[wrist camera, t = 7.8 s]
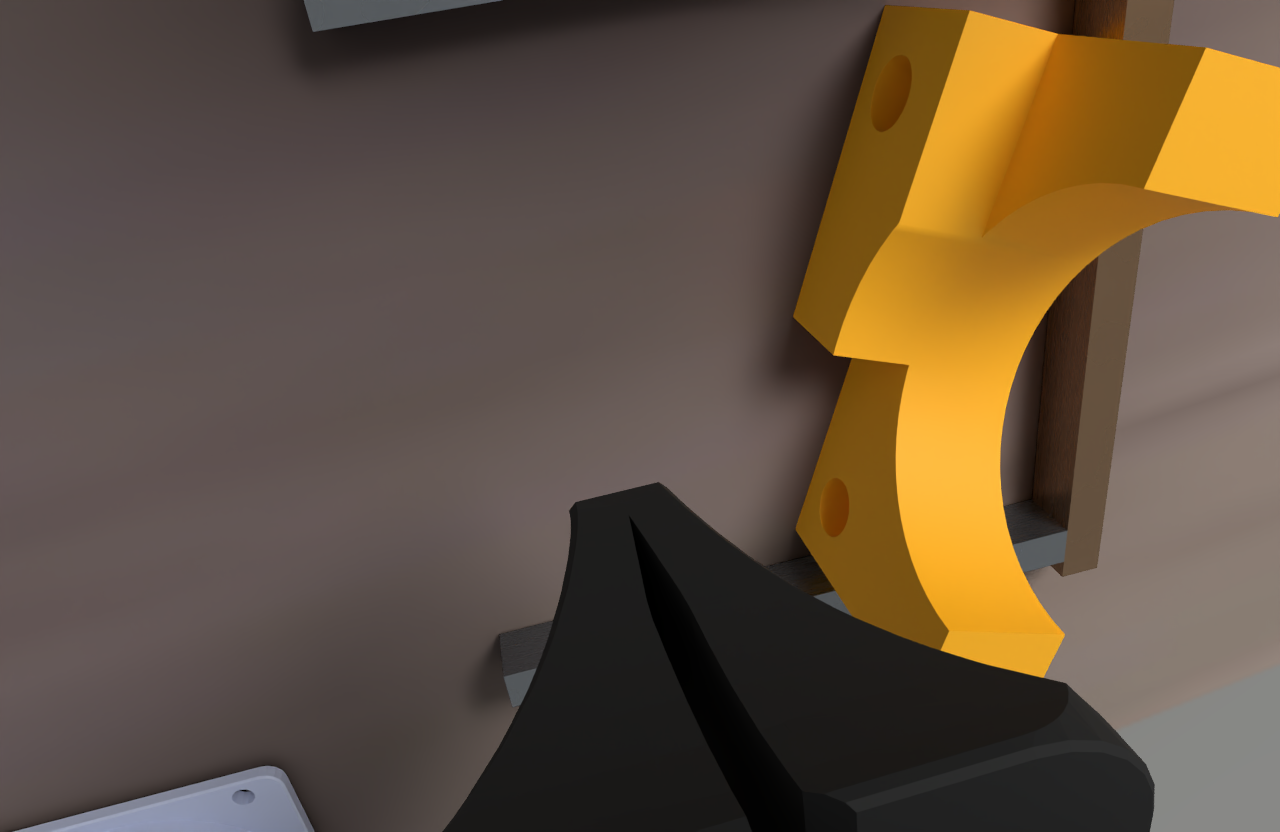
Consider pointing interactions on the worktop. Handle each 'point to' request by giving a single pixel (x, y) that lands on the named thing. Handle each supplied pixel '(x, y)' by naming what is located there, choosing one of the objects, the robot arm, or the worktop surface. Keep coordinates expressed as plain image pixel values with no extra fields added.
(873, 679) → the robot arm
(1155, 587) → the worktop surface
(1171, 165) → the pipe clamp
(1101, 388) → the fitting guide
